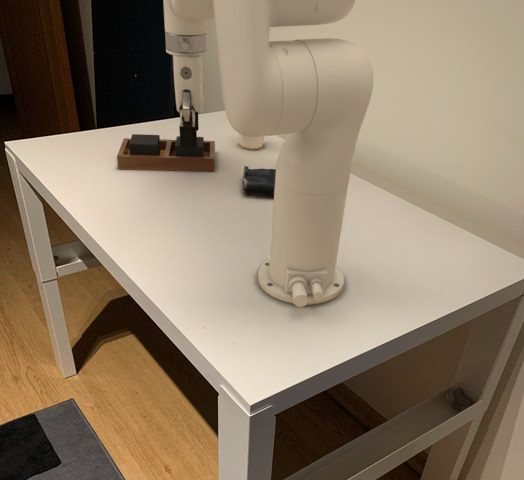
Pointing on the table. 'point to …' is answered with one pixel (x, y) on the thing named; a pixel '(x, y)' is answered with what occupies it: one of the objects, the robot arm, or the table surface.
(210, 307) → the table surface
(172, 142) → the wooden tray
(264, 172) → the electronic device
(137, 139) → the pad left
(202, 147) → the pad right
